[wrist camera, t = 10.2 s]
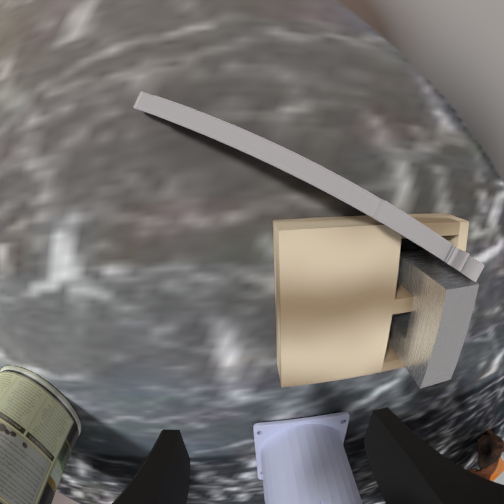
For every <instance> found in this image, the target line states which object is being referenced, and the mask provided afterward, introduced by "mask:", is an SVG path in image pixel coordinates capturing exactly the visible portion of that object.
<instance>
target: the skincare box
mask: <svg viewBox="0 0 504 504" xmlns="http://www.w3.org/2000/svg"><path fill="white" fill-rule="evenodd" d="M490 481H493V482H496V483H499V484H503V485H504V452H502V455H501V457H500V458H499V462H498V466H497V468H496V470H495V471H494V473H493V474H492V475H491V476H490Z"/></svg>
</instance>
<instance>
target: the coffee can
mask: <svg viewBox="0 0 504 504" xmlns="http://www.w3.org/2000/svg"><path fill="white" fill-rule="evenodd" d="M80 434H81V423H80V420H79V417H78V415H77V413H76V411H75V410H74V409H73V407H72V406H71V404H70V403H69V402H68V401H67V400H66V399H65V397H64V396H63V395H62V394H61V393H60V392H59V391H58V390H56V389H55V388H54V387H53V386H52V385H51V384H50V383H48V382H47V381H45V380H44V379H42V378H41V377H40V376H38V375H36V374H35V373H33V372H31V371H29V370H26V369H24V368H21V367H17V366H6V367H3V368H2V369H1V370H0V504H51V503H52V500H53V497H54V495H55V492H56V489H57V487H58V484H59V482H60V479H61V477H62V474H63V472H64V469H65V467H66V464H67V462H68V459H69V457H70V454H71V452H72V450H73V448H74V445H75V443H76V441H77V438H78V437H79V436H80Z"/></svg>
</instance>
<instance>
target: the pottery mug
mask: <svg viewBox="0 0 504 504" xmlns="http://www.w3.org/2000/svg"><path fill="white" fill-rule="evenodd" d="M477 444H478V450H479V451H478V465H479V467H480V468H481V469H480V470H478V471H477V469H476V468H474V469H471V470H467V471H469V472H471V473H474V474H476V475H478V476H480V477H483V478H485V479H487V480H490V476H491V475H492V474H493V473H494V471H495V470H496V468H497V466H498V462H499V458H500V457H501V455H502V452H503V449H504V442H503V440H502V439H501V438H500V437H499V436H497V435H495V434H494V432H493V431H491V430H487V435H483V436H481V437H480V438H478V439H477Z"/></svg>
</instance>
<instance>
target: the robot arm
mask: <svg viewBox="0 0 504 504" xmlns="http://www.w3.org/2000/svg"><path fill="white" fill-rule="evenodd" d="M349 418H350V415H349V413H348V412H346V411H345V412H339V413H333V414H327V415H321V416H314V417H307V418H299V419H291V420H282V421H272V422H261V423H256V424H255V425H254V426H253V429H254V440H255V450H256V461H257V471H258V478H259V479H261V480H263V487H264V498H265V504H362V501H361V498H360V495H359V492H358V489H357V486H356V482H355V479H354V476H353V473H352V470H351V467H350V464H349V461H348V458H347V455H346V452H345V449H344V446H343V443H344V439H345V435H346V431H347V427H348V422H349ZM364 445H365V449H366V453H367V457H368V460H369V464H370V466H371V468H372V471H373V473H374V476H375V478H376V480H377V483H378V485H379V488H380V490H381V492H382V495H383V497H384V499H385V502H386V504H504V485H503V484H499V483H496V482H493V481H490V480H487V479H485V478H483V477H480V476H478V475H476V474H474V473H471V472H469V471H467V470H465V469H464V468H462V467H460V466H458V465H457V464H455V463H453V462H452V461H450V460H449V459H447V458H446V457H444V456H443V455H441V454H440V453H439V452H437V451H436V450H435V449H433V448H432V447H431V446H429V445H428V444H427V443H426V442H425V441H423V440H422V439H421V438H420V437H419V436H418V435H416V434H415V433H414V432H413V431H412V430H411V429H410V428H409V427H408V426H406V425H405V424H404V423H403V422H402V421H401V420H400V419H399V418H398V417H397V416H396V415H395V414H394V413H393V412H392V411H391V410H390V409H389V408H383V409H378V410H374V411H373V412H372V416H371V419H370V423H369V426H368V429H367V432H366V436H365V439H364ZM189 480H190V458H189V455H188V452H187V450H186V447H185V444H184V442H183V439H182V436H181V433H180V430H162V431H161V433H160V435H159V437H158V439H157V441H156V443H155V444H154V446H153V448H152V450H151V451H150V453H149V455H148V456H147V458H146V460H145V461H144V463H143V464H142V466H141V467H140V469H139V470H138V472H137V473H136V475H135V476H134V478H133V479H132V480H131V482H130V483H129V484H128V485H127V487H126V488H125V489H124V491H123V492H122V493H121V494H120V495H119V497H118V498H117V499H116V500H115V501H114V502H113V503H112V504H186V501H187V495H188V488H189Z"/></svg>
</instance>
